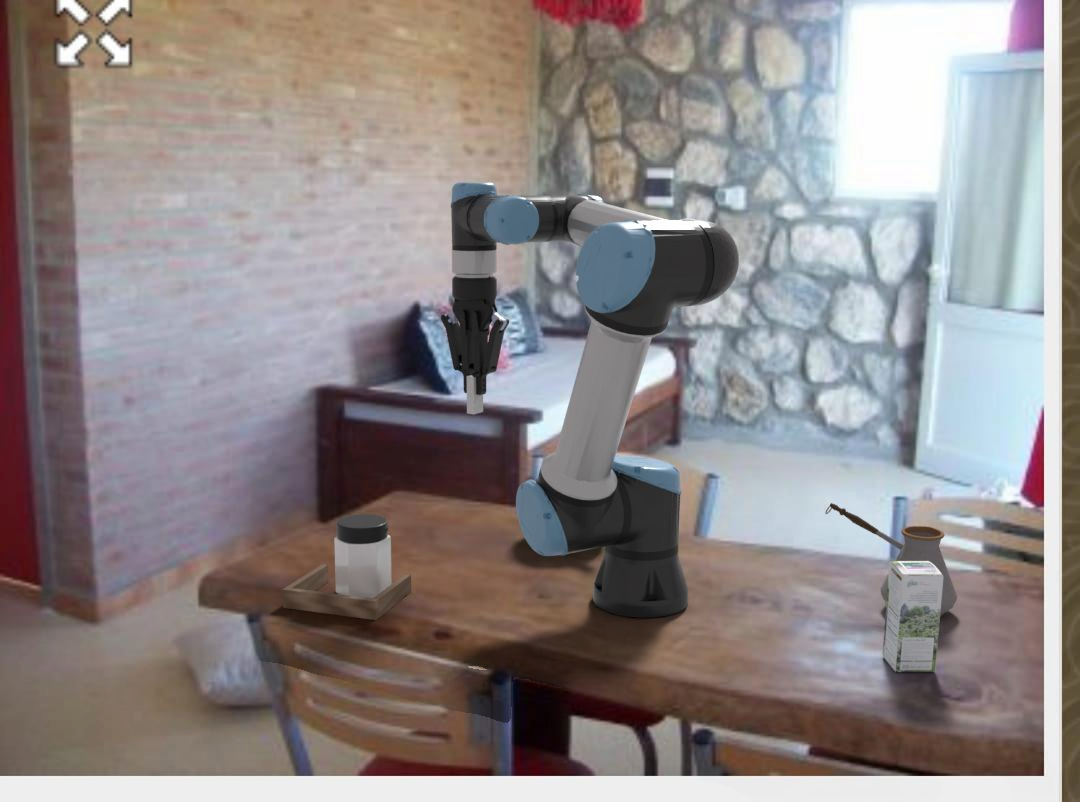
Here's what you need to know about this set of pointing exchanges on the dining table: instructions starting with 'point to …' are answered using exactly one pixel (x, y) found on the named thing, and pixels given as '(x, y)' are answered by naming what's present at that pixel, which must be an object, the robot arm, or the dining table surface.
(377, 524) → the jar
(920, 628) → the syrup box
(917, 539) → the coffee pot
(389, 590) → the box
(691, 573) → the dining table surface
